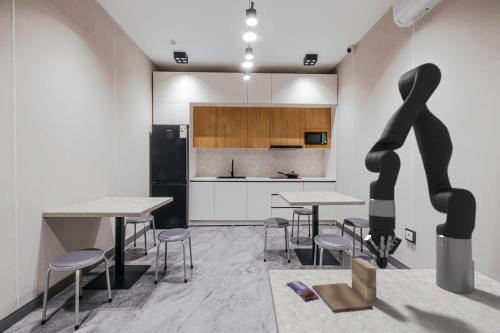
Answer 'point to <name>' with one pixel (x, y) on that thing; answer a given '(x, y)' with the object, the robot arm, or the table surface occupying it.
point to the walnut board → (341, 297)
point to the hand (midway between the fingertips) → (381, 267)
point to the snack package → (302, 290)
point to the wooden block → (364, 279)
